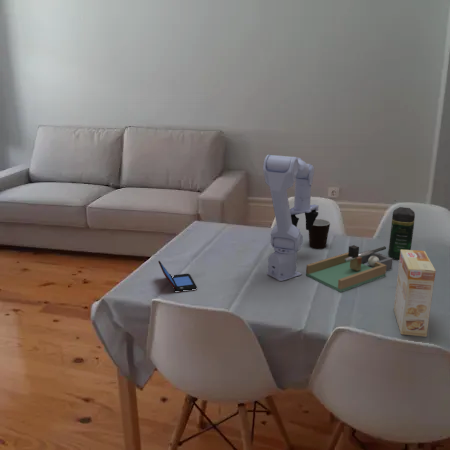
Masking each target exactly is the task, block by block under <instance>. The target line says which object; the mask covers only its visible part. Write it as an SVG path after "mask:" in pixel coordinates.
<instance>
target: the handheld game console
mask: <svg viewBox="0 0 450 450" xmlns="http://www.w3.org/2000/svg"><path fill="white" fill-rule="evenodd" d="M158 264H159V267H160V268H161V269H160V270H161V271H162V274H163V275H164V276H165V278H166V280H167V281H168V282H169V283H170V284H171V286H172V288H173V287H174V289H175V291H183V290H192V289H196V288H197V289H198V286H197V284H196V283H195V281H194V279H193V277H192V275H191V274H189V273H180V274H173V275H174V277H173V278H172V276H171V275H172V274H170V273H169V271H168V270H167V269H166V267H165V266H164V265H163V264H162V262H161V261H160V260H158ZM174 289H173V290H174ZM197 289H196V290H197ZM175 291H174V292H175Z"/></svg>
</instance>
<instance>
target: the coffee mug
mask: <svg viewBox="0 0 450 450" xmlns="http://www.w3.org/2000/svg"><path fill="white" fill-rule="evenodd" d="M330 227H331V221H329V220H327V219H323V218H316V219H315V221H314V223H313V226H312V229H311V231H309V230H307V231H308V239H309V240H308V241H309V242H308V243H309V247H310V248H311V249H315V250H323V249H326V248H327V242H328V237H329V232H330Z"/></svg>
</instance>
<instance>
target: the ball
mask: <svg viewBox="0 0 450 450" xmlns="http://www.w3.org/2000/svg"><path fill="white" fill-rule="evenodd" d="M378 261H379V258H378V257H376V256H371V257H370V258H369V259H368V262H367V265H368V266H369V267H371V268H374V266H375V262H378Z"/></svg>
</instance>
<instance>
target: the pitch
mask: <svg viewBox="0 0 450 450" xmlns="http://www.w3.org/2000/svg"><path fill="white" fill-rule="evenodd" d="M367 251H371V249H367V250H364V251H361V252H359V254H361V253H364V252H367ZM348 253H349V251H348V252H345V253H340V254H339V255H334V256H331V257H329V258H325V259H321V260H318V261H314V262H311V263H309V264H306V269H305V271H306V272H305V273H306V274H305V276H306V277H308V278H310V279H312V280H313V281H316V282H319V283H321V284H323V285H324V286H327V287H329V288H330V289H333V290H335V291H338V292H339V293H342V292H345V291H348V290H350V289H354V288H356V287H359V286H362V285H365V284H367V283H370V282H373V281H376V280H379V279H382V278H384V277H386V275H387V274H386V273H387V271H390V270H392V268H393V260H394V259H393V258H390V257H389V256H388V255H385V254H382V253H378V252H376V253H372V254H369V255H366V256H363V257H362V260H361V270H358V271H356V270H353V269H351V268H350V261H347V262H346V261H345V258H348V257H349V256H348ZM371 256H376V257H378V258H379V261H378V262H375V266H374V267H371V266H370V265H366V263H368V259H369V258H370V257H371Z"/></svg>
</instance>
